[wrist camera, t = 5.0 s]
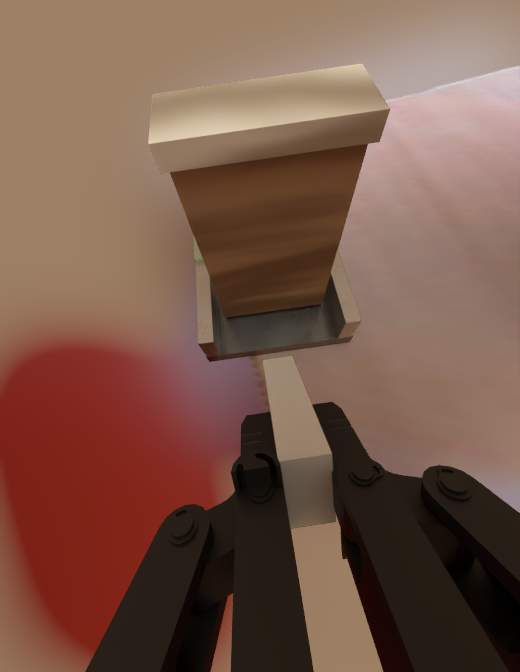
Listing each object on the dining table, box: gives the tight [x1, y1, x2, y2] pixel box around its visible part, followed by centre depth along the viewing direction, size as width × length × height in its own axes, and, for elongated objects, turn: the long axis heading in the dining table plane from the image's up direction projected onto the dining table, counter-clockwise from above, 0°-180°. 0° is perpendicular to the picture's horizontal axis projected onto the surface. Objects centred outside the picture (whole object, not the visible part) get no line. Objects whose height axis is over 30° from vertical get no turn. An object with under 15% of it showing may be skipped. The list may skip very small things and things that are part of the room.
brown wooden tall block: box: [148, 64, 390, 318], centre depth 18 cm, size 4×10×15 cm, turn 97°
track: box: [194, 237, 361, 362], centre depth 25 cm, size 19×13×7 cm
